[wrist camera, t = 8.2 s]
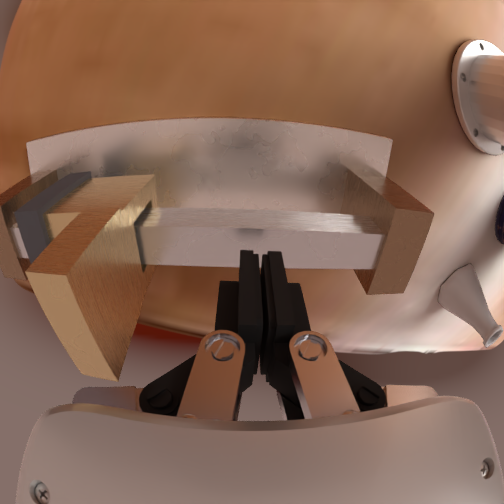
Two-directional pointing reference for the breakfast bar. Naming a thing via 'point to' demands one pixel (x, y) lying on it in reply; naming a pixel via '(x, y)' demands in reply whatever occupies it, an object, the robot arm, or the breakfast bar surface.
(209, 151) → the pipe rig
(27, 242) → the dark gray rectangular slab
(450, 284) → the flask
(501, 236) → the storage jar
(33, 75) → the breakfast bar surface
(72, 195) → the wooden block
